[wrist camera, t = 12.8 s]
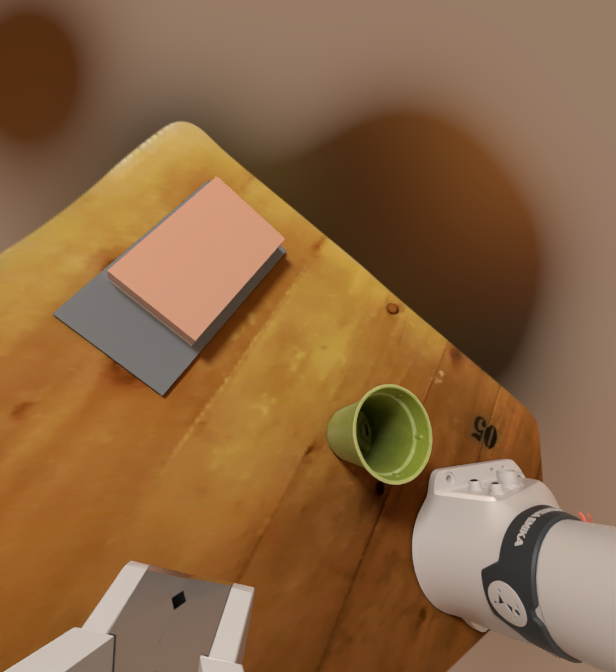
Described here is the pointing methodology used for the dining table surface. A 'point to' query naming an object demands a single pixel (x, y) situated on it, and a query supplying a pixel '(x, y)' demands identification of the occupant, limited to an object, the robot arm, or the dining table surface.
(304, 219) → the dining table surface
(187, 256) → the tile
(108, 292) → the mat
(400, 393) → the plant pot
